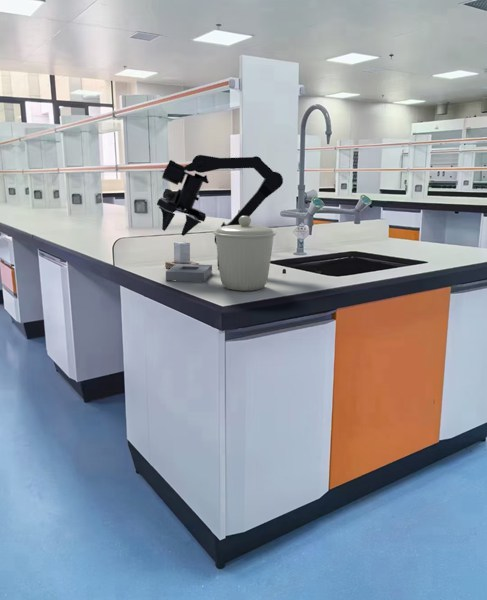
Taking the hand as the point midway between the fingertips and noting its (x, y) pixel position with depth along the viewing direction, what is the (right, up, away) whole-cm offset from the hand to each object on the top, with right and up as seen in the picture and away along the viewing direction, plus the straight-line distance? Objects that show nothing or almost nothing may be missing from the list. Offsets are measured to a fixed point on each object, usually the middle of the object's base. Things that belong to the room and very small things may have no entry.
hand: (173, 232), depth 182 cm
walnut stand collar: (+3, -12, +2) cm, 13 cm away
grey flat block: (+7, -16, -13) cm, 22 cm away
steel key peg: (+3, -12, +2) cm, 13 cm away
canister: (+25, -20, -27) cm, 41 cm away
